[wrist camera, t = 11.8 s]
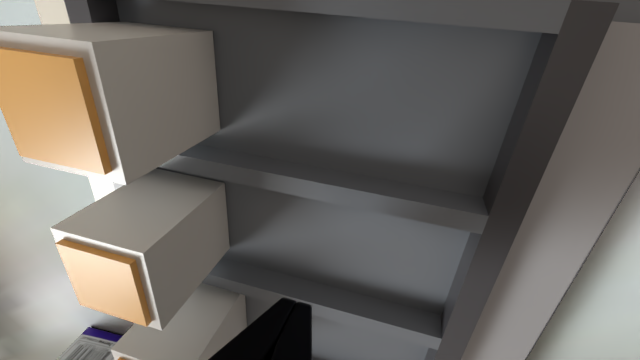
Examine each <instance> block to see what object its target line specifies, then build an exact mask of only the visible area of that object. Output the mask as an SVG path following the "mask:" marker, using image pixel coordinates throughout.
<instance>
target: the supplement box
mask: <svg viewBox="0 0 640 360" xmlns="http://www.w3.org/2000/svg"><path fill="white" fill-rule="evenodd" d="M121 337H122V335H118V334H114V333H110V332H106V331H103V330H98V329H95V328H91V327H88V328H87V329H86V330H85V331H84V332H83V333H82V334H81V335H80V336H79V337H78V338H77V339H76V340H75V341H74V342H73V343H72V344H71V345H70V346H69V347H68V348H67V349H66V350H65V351H64V352H63V353H62V354H61V355H60V356H59V357H58V358H57V359H56V360H114V357H113V355H112V352H111V348H112V347H113V346H114V345H115V344H116V343H117V342H118V341H119V339H120V338H121Z"/></svg>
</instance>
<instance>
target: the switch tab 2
mask: <svg viewBox="0 0 640 360" xmlns="http://www.w3.org/2000/svg"><path fill="white" fill-rule="evenodd" d="M50 229H51V231H52V234H53V236H54V239H55V241H56V243H55V244H56V247H57V249H58V252H59V254H60V257H61V259H62V261H63V264H64V266H65V269H66V271H67V274H68V276H69V279H70V281H71V284H72V286H73V289H74V291H75V294H76V296H77V299H78V301H79V304H80V305H82V306H85V307H88V308H91V309H94V310H97V311H100V312H103V313H106V314H109V315H112V316H115V317H118V318H121V319H124V320H127V321H130V322H133V323H136V324H139V325H142V326H145V327H147V326H149V327H152V328H155V329H158V330H161V331H162V330H163V329H164V328H165V327H166V325H167V324H168V323H169V322H170V321H171V319H172V318H173V317H174V316H175V314H176V313H177V312H178V311H179V309H180V308H181V307H182V306H183V305H184V303H185V302H186V301H187V300H188V298H189V297H190V296H191V295H192V294H193V292H194V291H195V290H196V289H197V287H198V286H199V285H200V284H201V283H202V281H203V280H204V279H205V278H206V276H207V275H208V274H209V273H210V271H211V270H212V269H213V268H214V267H215V265H216V264H217V263H218V262H219V260H220V259H221V258H222V257H223V256H224V254H225V253H226V252H227V251H228V249H229V248H230V244H229V232H228V219H227V206H226V194H225V183H223V182H218V181H213V180H208V179H204V178H199V177H194V176H189V175H185V174H180V173H175V172H170V171H166V170H161V169H156V168H155V169H154V170H152V171H150V172H148V173H147V174H145V175H143V176H142V177H140V178H138V179H137V180H135V181H133V182H131V183H130V184H128V185H123V186H121V187H120V188H118V189H116V190H114V191H113V192H111V193H109V194H108V195H106V196H104V197H102V198H101V199H99V200H97V201H96V202H94V203H92V204H90V205H89V206H87V207H85V208H84V209H82V210H80V211H78V212H77V213H75V214H73V215H72V216H70V217H68V218H66V219H65V220H63V221H61V222H59V223H58V224H56V225H54V226H53V227H51V228H50Z"/></svg>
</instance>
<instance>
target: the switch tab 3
mask: <svg viewBox="0 0 640 360" xmlns="http://www.w3.org/2000/svg"><path fill="white" fill-rule="evenodd" d="M246 327H247V319H246V301H245V295H242V294H239V293H235V292H232V291H228V290H225V289H221V288H218V287H214V286H211V285H207V284H204V283H201V284H200V285H199V286H198V287H197V289H196V290H195V291H194V292H193V294H192V295H191V296H190V297H189V298H188V300H187V301H186V302H185V303H184V305H183V306H182V307H181V308H180V309H179V311H178V312H177V313H176V314H175V316H174V317H173V318H172V319H171V321H170V322H169V323H168V324H167V325H166V327H165V328H164V329H163V330H162V331H161V330H158V329H155V328H152V327H149V326H147V327H145V326H142V325H139V324H136V323H134V324H133V325H132V326H131V328H130V329H129V330H128V331H127V332H126V333H125V334H124V335H123V336H122V337H121V338H120V339H119V341H118V342H117V343H116V344H115V345H114V346H113V347H112V348H111V352H112V355H113V357H114V360H208V359H209V358H210V357H212V356H213V355H214V354H215V353H216V352H218V351H219V350H220V349H221V348H222V347H224V346H225V345H226V344H227V343H228V342H229V341H231V340H232V339H233V338H234V337H235V336H237V335H238V334H239V333H240V332H241V331H243V330H244V329H245V328H246Z"/></svg>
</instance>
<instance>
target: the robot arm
mask: <svg viewBox="0 0 640 360" xmlns="http://www.w3.org/2000/svg"><path fill="white" fill-rule="evenodd" d="M208 360H312V306H311V305H310V304H307V303H303V302H296V301H295V300H292V299H289V298H285V297H283V298H281V299H280V300H278V301H277V302H276V303H275V304H274V305H272V306H271V307H270V308H269V309H268V310H266V311H265V312H264V313H263V314H262V315H260V316H259V317H258V318H257V319H256V320H255V321H253V322H252V323H251V324H250V325H249V326H247V327H246V328H245V329H244V330H243V331H241V332H240V333H239V334H238V335H237V336H235V337H234V338H233V339H232V340H231V341H229V342H228V343H227V344H226V345H225V346H224V347H222V348H221V349H220V350H219V351H218V352H216V353H215V354H214V355H213V356H212V357H210V358H209V359H208Z"/></svg>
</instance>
